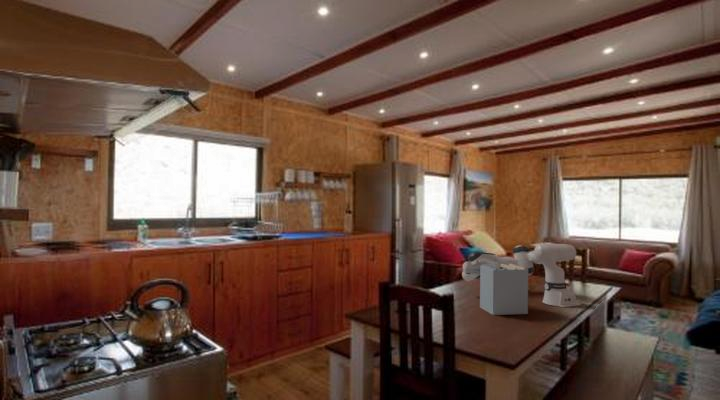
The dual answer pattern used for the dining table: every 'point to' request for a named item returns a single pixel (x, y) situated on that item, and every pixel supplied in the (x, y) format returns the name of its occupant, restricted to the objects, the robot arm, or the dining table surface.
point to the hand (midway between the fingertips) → (484, 261)
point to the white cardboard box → (504, 289)
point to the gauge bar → (490, 263)
